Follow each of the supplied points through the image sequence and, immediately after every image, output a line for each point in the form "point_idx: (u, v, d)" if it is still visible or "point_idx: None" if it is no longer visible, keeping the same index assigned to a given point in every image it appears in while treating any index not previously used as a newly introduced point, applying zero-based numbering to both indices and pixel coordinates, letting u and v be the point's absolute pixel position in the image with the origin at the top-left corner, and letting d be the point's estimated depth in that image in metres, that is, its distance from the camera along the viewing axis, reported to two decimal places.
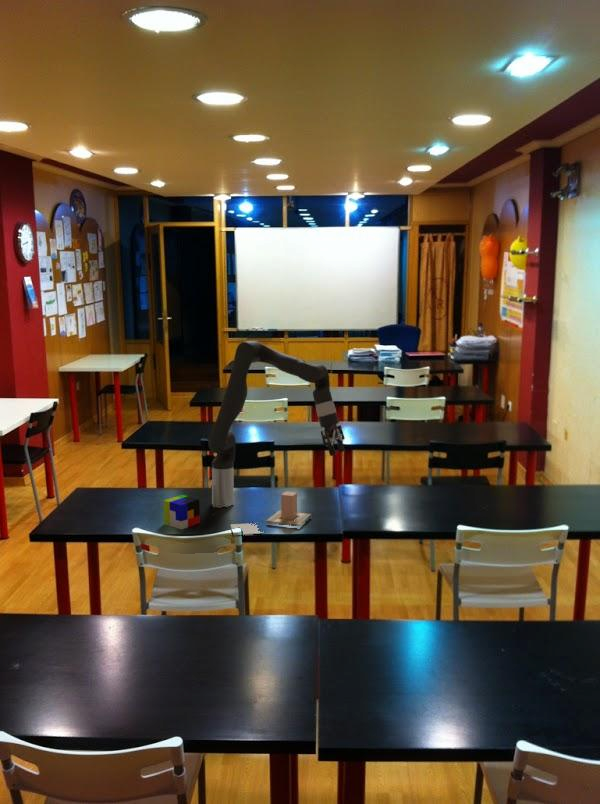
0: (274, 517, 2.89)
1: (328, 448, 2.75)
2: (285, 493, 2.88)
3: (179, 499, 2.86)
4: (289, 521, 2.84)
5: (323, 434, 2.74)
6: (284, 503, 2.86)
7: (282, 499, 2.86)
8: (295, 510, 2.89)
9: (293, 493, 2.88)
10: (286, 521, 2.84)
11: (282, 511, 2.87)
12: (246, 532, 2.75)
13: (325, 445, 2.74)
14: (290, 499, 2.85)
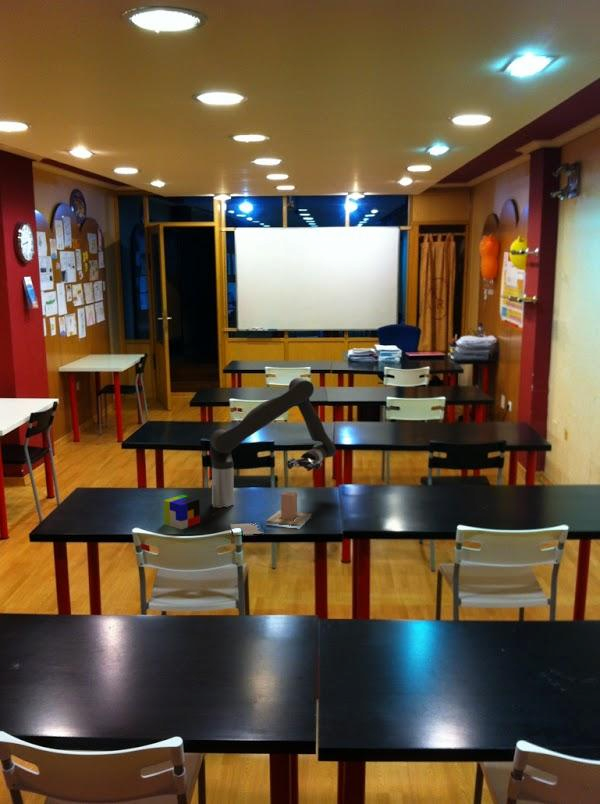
0: (274, 517, 2.89)
1: (312, 465, 2.97)
2: (285, 493, 2.88)
3: (179, 499, 2.86)
4: (289, 521, 2.84)
5: (321, 463, 3.02)
6: (284, 503, 2.86)
7: (282, 499, 2.86)
8: (295, 510, 2.89)
9: (293, 493, 2.88)
10: (286, 521, 2.84)
11: (282, 511, 2.87)
12: (246, 532, 2.75)
13: (317, 465, 2.98)
14: (290, 499, 2.85)
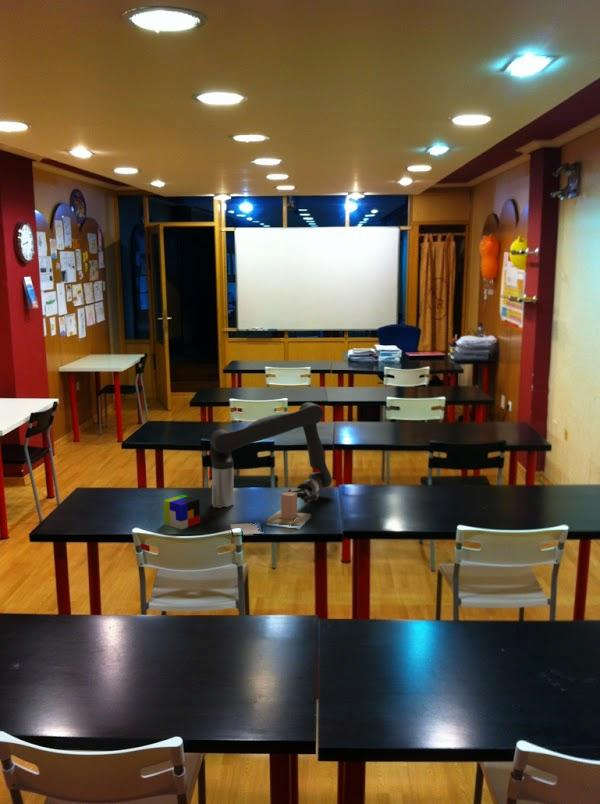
0: (274, 517, 2.89)
1: (309, 497, 2.96)
2: (285, 493, 2.88)
3: (179, 499, 2.86)
4: (289, 521, 2.84)
5: (317, 494, 3.01)
6: (284, 503, 2.86)
7: (282, 499, 2.86)
8: (295, 510, 2.89)
9: (293, 493, 2.88)
10: (286, 521, 2.84)
11: (282, 511, 2.87)
12: (246, 532, 2.75)
13: (314, 496, 2.97)
14: (290, 499, 2.85)
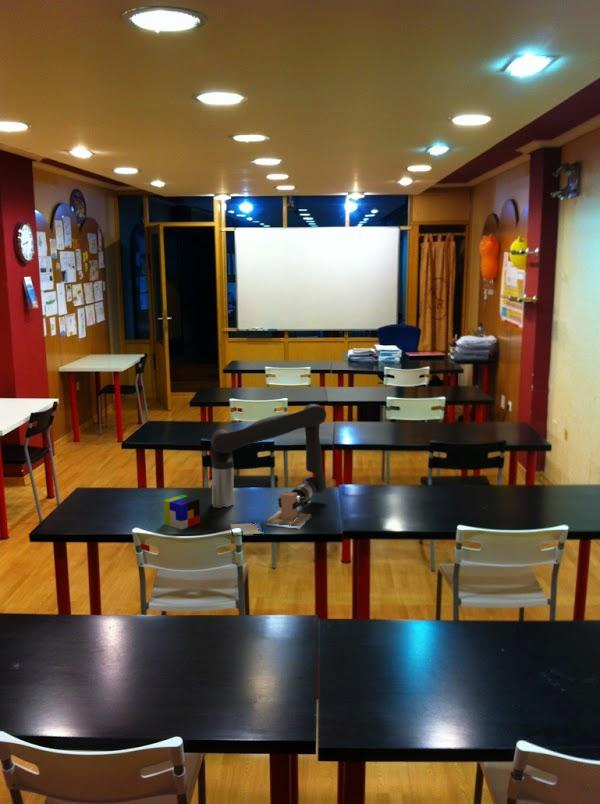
0: (274, 517, 2.89)
1: (298, 503, 2.87)
2: (285, 493, 2.88)
3: (179, 499, 2.86)
4: (289, 521, 2.84)
5: (309, 501, 2.92)
6: (284, 503, 2.86)
7: (282, 499, 2.86)
8: (295, 510, 2.89)
9: (293, 493, 2.88)
10: (286, 521, 2.84)
11: (282, 511, 2.87)
12: (246, 532, 2.75)
13: (303, 502, 2.88)
14: (290, 499, 2.85)
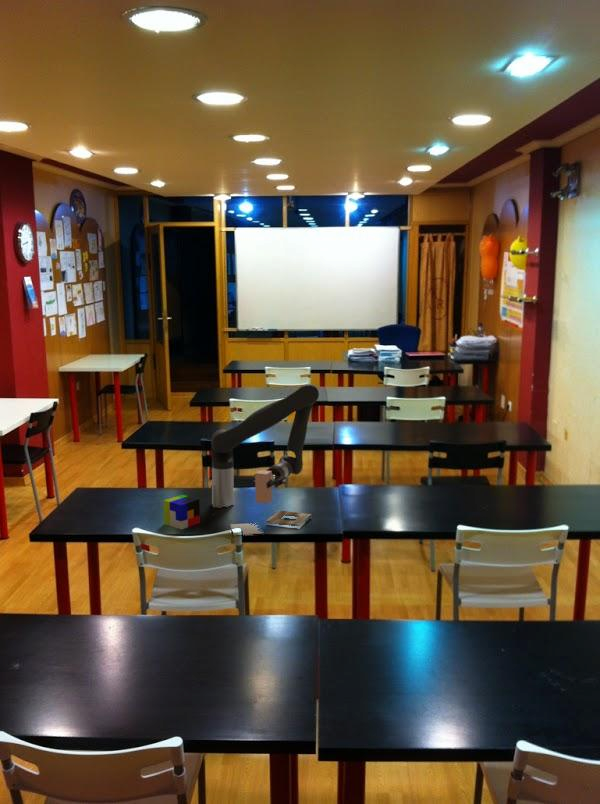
0: (274, 517, 2.89)
1: (272, 482, 2.80)
2: (259, 471, 2.80)
3: (179, 499, 2.86)
4: (289, 521, 2.84)
5: (284, 479, 2.84)
6: (258, 482, 2.79)
7: (256, 478, 2.79)
8: (270, 489, 2.81)
9: (267, 471, 2.80)
10: (286, 521, 2.84)
11: (256, 490, 2.79)
12: (246, 532, 2.75)
13: (278, 481, 2.81)
14: (265, 478, 2.77)
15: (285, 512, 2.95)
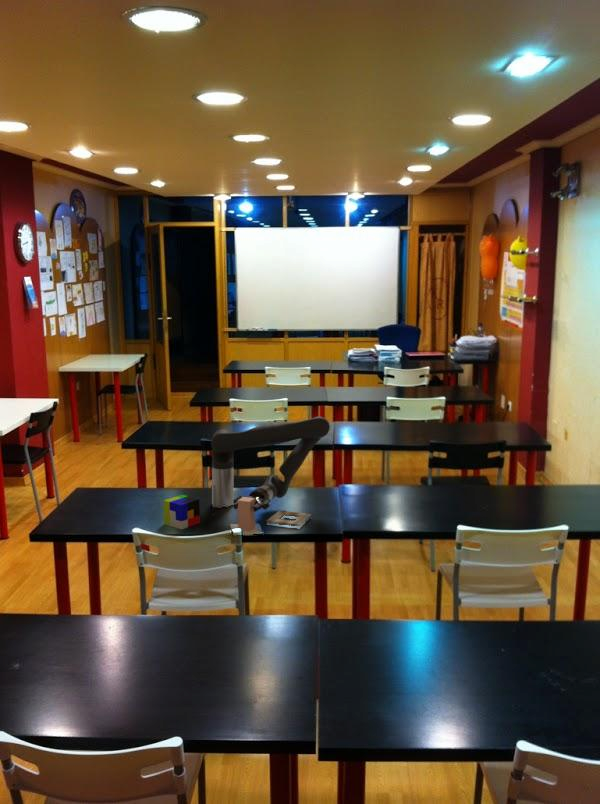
0: (274, 517, 2.89)
1: (260, 505, 2.77)
2: (242, 499, 2.78)
3: (179, 499, 2.86)
4: (289, 521, 2.84)
5: (269, 502, 2.82)
6: (240, 509, 2.76)
7: (239, 505, 2.76)
8: (253, 516, 2.79)
9: (250, 499, 2.78)
10: (286, 521, 2.84)
11: (239, 517, 2.77)
12: (246, 532, 2.75)
13: (265, 504, 2.78)
14: (247, 505, 2.75)
15: (285, 512, 2.95)
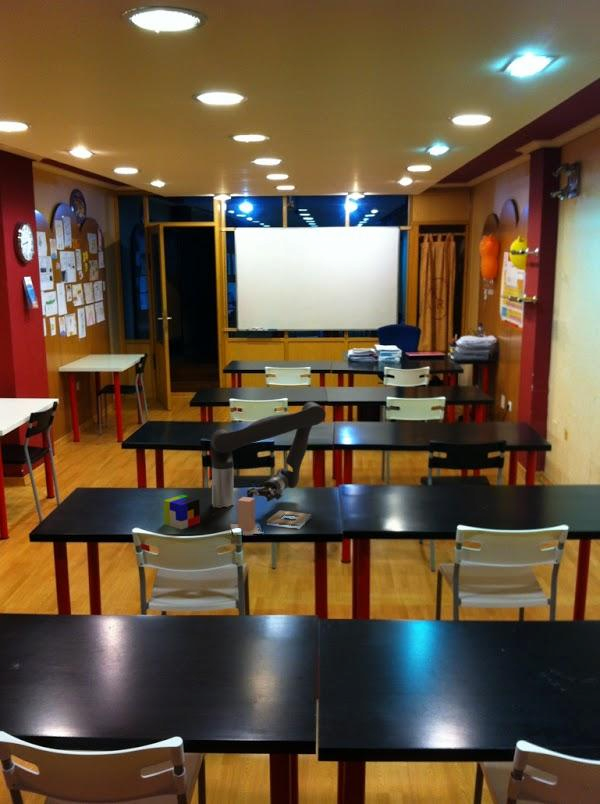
0: (274, 517, 2.89)
1: (273, 495, 2.90)
2: (242, 499, 2.78)
3: (179, 499, 2.86)
4: (289, 521, 2.84)
5: (281, 493, 2.95)
6: (240, 509, 2.76)
7: (239, 505, 2.76)
8: (253, 516, 2.79)
9: (250, 499, 2.78)
10: (286, 521, 2.84)
11: (239, 517, 2.77)
12: (246, 532, 2.75)
13: (277, 495, 2.90)
14: (247, 505, 2.75)
15: (285, 512, 2.95)
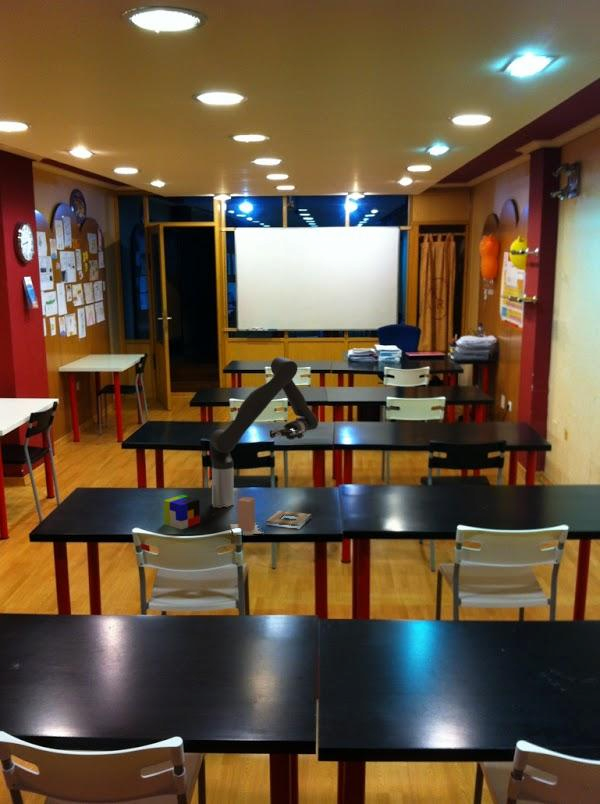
0: (274, 517, 2.89)
1: (295, 434, 3.02)
2: (242, 499, 2.78)
3: (179, 499, 2.86)
4: (289, 521, 2.84)
5: (303, 433, 3.07)
6: (240, 509, 2.76)
7: (239, 505, 2.76)
8: (253, 516, 2.79)
9: (250, 499, 2.78)
10: (286, 521, 2.84)
11: (239, 517, 2.77)
12: (246, 532, 2.75)
13: (299, 434, 3.03)
14: (247, 505, 2.75)
15: (285, 512, 2.95)
